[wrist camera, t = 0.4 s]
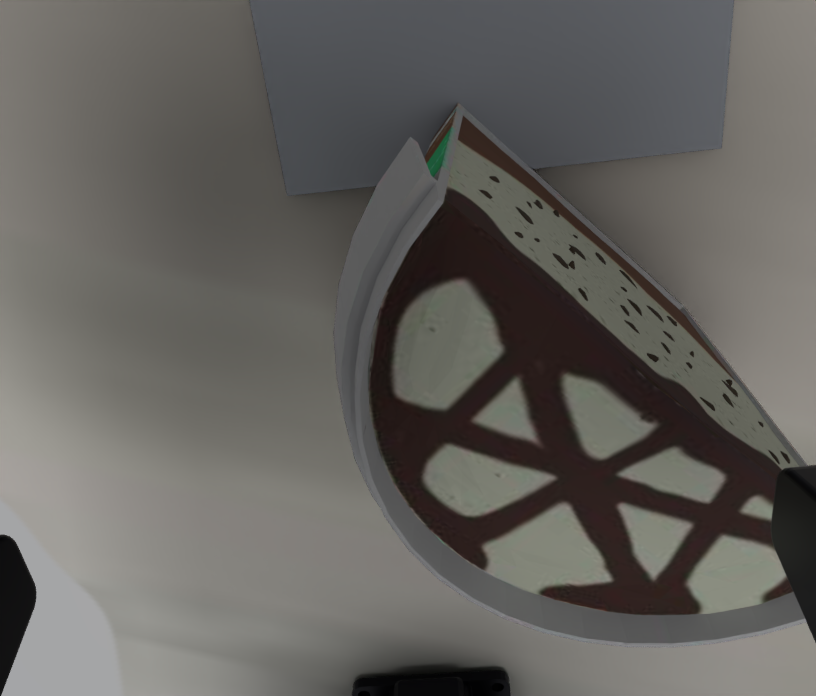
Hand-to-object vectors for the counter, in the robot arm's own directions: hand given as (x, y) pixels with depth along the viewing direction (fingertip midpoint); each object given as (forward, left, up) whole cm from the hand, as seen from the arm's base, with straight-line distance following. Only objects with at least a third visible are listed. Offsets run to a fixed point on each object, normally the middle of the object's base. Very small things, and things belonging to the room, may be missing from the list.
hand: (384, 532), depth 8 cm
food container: (-2, -3, -14) cm, 14 cm away
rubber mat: (+4, -3, -14) cm, 14 cm away
